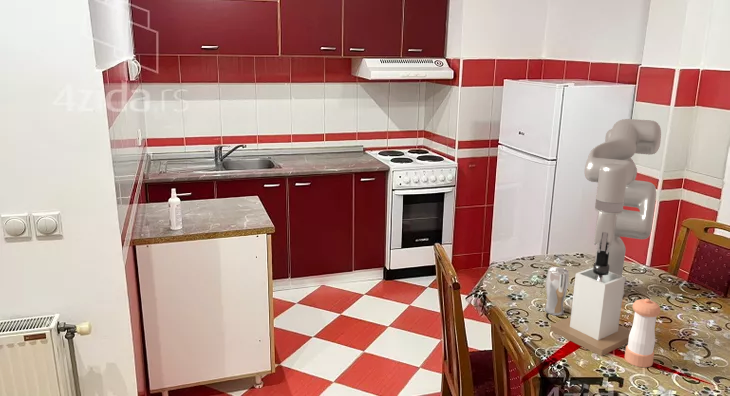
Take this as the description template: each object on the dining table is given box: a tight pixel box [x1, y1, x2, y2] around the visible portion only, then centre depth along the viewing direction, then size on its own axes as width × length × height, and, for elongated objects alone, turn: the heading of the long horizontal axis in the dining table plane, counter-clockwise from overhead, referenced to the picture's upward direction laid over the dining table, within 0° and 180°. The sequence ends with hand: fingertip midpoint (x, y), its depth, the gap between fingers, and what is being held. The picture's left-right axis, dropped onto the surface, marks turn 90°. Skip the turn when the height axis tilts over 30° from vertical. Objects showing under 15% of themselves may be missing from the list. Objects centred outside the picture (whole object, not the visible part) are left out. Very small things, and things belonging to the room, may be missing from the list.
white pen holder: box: [549, 267, 631, 357], centre depth 170 cm, size 18×18×20 cm
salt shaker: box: [624, 298, 662, 368], centre depth 156 cm, size 7×7×19 cm
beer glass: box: [544, 266, 570, 316], centre depth 186 cm, size 7×7×15 cm
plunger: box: [592, 261, 610, 282], centre depth 169 cm, size 8×8×20 cm
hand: (601, 264), depth 166 cm, fingers closed
